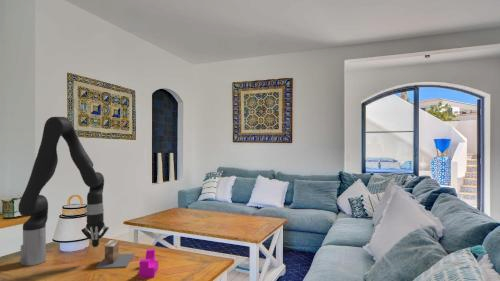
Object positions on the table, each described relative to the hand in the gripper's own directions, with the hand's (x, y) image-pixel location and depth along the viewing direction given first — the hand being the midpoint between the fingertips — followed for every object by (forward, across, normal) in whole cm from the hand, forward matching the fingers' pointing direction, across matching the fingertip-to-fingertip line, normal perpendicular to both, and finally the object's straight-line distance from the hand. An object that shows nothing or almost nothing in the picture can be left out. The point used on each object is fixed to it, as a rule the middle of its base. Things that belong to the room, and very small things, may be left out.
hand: (95, 246), depth 147 cm
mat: (+8, +10, 0) cm, 13 cm away
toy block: (+9, +29, -12) cm, 33 cm away
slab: (+8, +8, 0) cm, 11 cm away
